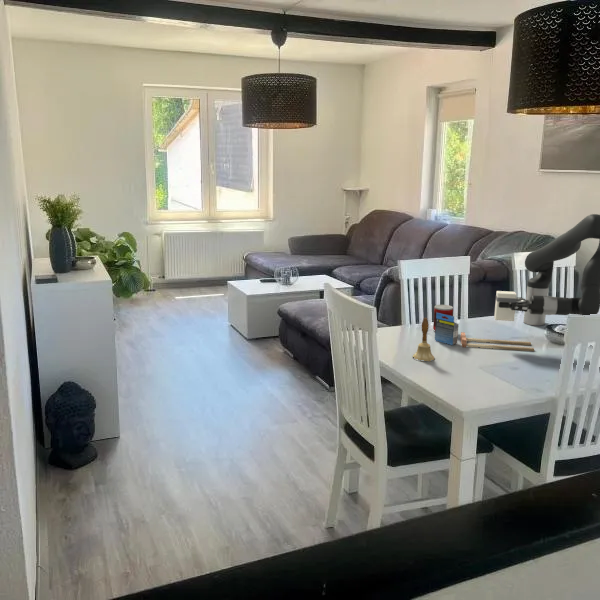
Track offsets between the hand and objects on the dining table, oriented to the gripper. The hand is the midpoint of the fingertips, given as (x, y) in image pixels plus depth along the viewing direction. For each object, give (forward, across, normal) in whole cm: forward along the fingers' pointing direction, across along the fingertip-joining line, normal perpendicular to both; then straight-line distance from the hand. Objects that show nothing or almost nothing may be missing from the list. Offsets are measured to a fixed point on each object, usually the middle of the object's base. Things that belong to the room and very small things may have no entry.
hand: (498, 303), depth 240 cm
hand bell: (+29, +21, +18) cm, 40 cm away
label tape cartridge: (+19, 0, +18) cm, 27 cm away
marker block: (-3, 0, +6) cm, 7 cm away
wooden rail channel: (-2, 0, +18) cm, 18 cm away
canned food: (+20, -17, +18) cm, 32 cm away
